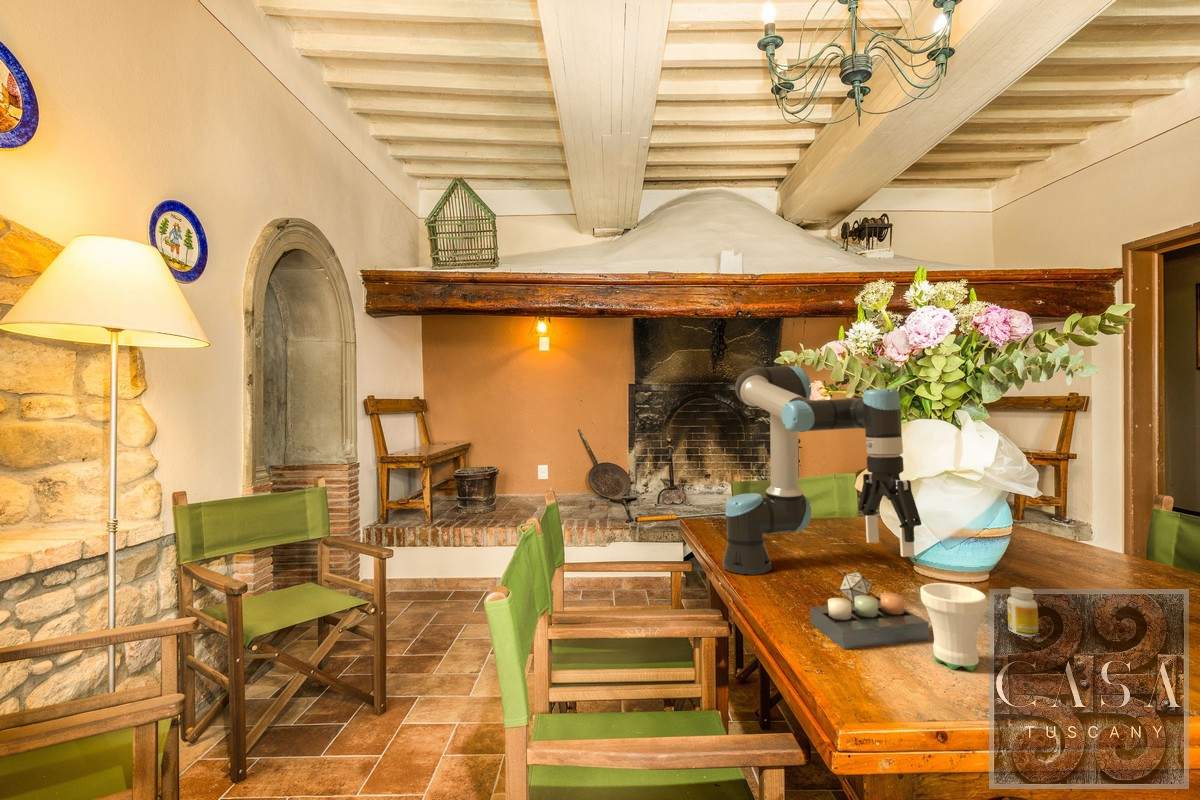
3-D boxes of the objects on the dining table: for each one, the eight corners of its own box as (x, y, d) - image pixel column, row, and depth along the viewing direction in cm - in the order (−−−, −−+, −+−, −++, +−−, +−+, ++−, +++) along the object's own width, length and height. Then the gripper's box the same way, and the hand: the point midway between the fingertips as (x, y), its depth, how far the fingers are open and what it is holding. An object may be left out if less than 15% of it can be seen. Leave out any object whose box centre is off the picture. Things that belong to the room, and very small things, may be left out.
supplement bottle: (1002, 629, 123) (1000, 587, 123) (1020, 626, 124) (1018, 584, 124) (1026, 639, 117) (1024, 595, 117) (1045, 635, 119) (1043, 592, 119)
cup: (959, 681, 102) (955, 605, 102) (910, 655, 113) (907, 587, 113) (1004, 670, 105) (1000, 597, 105) (952, 646, 116) (949, 579, 116)
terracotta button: (876, 607, 128) (875, 593, 128) (895, 605, 128) (894, 592, 128) (889, 615, 123) (889, 601, 123) (909, 613, 124) (908, 599, 124)
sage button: (850, 610, 127) (850, 596, 127) (869, 608, 128) (869, 594, 128) (863, 617, 122) (862, 603, 122) (882, 615, 123) (882, 601, 123)
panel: (811, 623, 131) (810, 607, 131) (888, 616, 133) (887, 599, 133) (843, 649, 117) (842, 630, 117) (929, 640, 119) (928, 622, 119)
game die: (865, 618, 141) (882, 595, 135) (832, 605, 143) (847, 582, 137) (863, 591, 148) (879, 568, 143) (831, 579, 150) (846, 556, 144)
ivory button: (824, 612, 126) (823, 598, 126) (843, 610, 127) (843, 596, 127) (835, 620, 121) (835, 606, 121) (855, 618, 122) (855, 604, 122)
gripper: (840, 452, 138) (844, 537, 137) (904, 461, 114) (909, 564, 113) (868, 450, 138) (872, 535, 138) (937, 459, 115) (942, 562, 114)
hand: (889, 549), depth 126 cm, fingers open, 12 cm apart
